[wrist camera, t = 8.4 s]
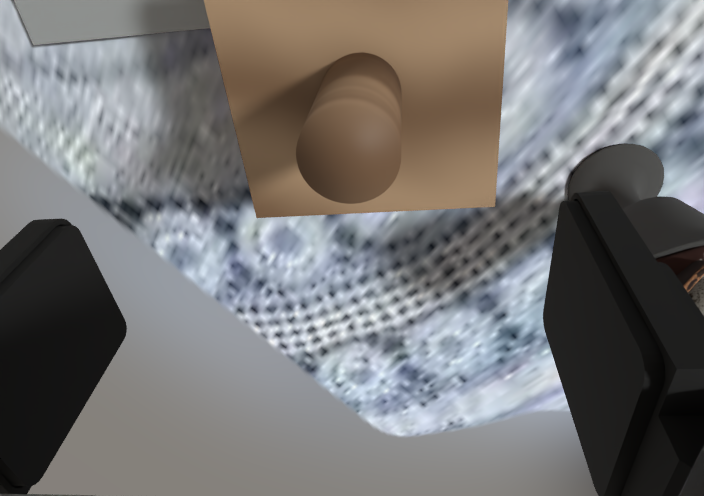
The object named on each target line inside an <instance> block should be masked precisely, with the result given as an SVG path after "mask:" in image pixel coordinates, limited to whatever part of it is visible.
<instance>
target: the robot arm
mask: <svg viewBox="0 0 704 496" xmlns="http://www.w3.org/2000/svg"><path fill="white" fill-rule="evenodd" d="M543 322H544V329H545V332H546V336H547V339H548V342H549V345H550V348H551V351H552V354H553V358H554V361H555V364H556V367H557V370H558V373H559V377H560V380H561V383H562V386H563V389H564V392H565V395H566V399H567V402H568V405H569V408H570V411H571V414H572V417H573V420H574V424H575V427H576V430H577V433H578V436H579V439H580V443H581V446H582V449H583V452H584V455H585V458H586V461H587V464H588V468H589V471H590V473H591V477H592V480H593V484H594V487H595V489H596V491H597V493H598V495H599V496H704V315H703V314H702V312H701V311H700V310H699V308H698V307H697V305H696V304H695V302H694V301H693V299H692V298H691V296H690V295H689V294H688V292H687V291H686V289H685V288H684V286H683V285H682V283H681V282H680V280H679V279H678V278H677V276H676V275H675V273H674V272H673V270H672V269H671V268H670V267H669V266H668V265H667V264H665V263H662V262H657V261H656V259H655V258H654V256H653V255H652V253H651V252H650V250H649V249H648V247H647V246H646V244H645V243H644V241H643V240H642V238H641V237H640V235H639V234H638V232H637V231H636V229H635V228H634V226H633V225H632V223H631V221H630V220H629V218H628V217H627V215H626V214H625V212H624V211H623V209H622V208H621V206H620V205H619V203H618V202H617V200H616V199H615V197H614V196H613V194H612V193H611V192H610V191H597V192H577V193H574V194H573V195H572V198H571V201H563V202H562V203H561V205H560V209H559V215H558V221H557V228H556V234H555V240H554V247H553V253H552V260H551V266H550V272H549V279H548V285H547V291H546V298H545V304H544V311H543ZM126 329H127V328H126V322H125V319H124V317H123V315H122V313H121V311H120V309H119V307H118V305H117V303H116V302H115V300H114V298H113V296H112V294H111V292H110V290H109V288H108V286H107V284H106V282H105V280H104V278H103V276H102V274H101V272H100V270H99V268H98V266H97V264H96V262H95V260H94V258H93V256H92V254H91V252H90V250H89V248H88V246H87V244H86V242H85V240H84V238H83V236H82V234H81V232H80V231H79V229H78V228H77V227H75V226H73V225H71V223H70V222H68V221H67V220H65V219H44V220H33V221H32V222H30V223H29V224H27V225H26V226H25V227H24V228H23V229H22V230H21V231H20V232H19V233H18V234H17V235H16V236H15V237H14V238H13V239H11V240H10V241H9V242H8V243H7V244H6V245H5V246H4V247H3V248H2V249H1V250H0V496H93V495H37V494H27V493H28V491H29V490H30V488H31V486H33V485H35V484H36V483H37V482H39V481H40V479H41V478H42V477H43V475H44V473H45V472H46V470H47V468H48V466H49V465H50V463H51V461H52V460H53V458H54V456H55V455H56V453H57V451H58V449H59V448H60V446H61V444H62V443H63V441H64V439H65V438H66V436H67V434H68V433H69V431H70V429H71V428H72V426H73V424H74V423H75V421H76V419H77V418H78V416H79V414H80V413H81V411H82V409H83V408H84V406H85V404H86V402H87V401H88V399H89V397H90V396H91V394H92V392H93V391H94V389H95V387H96V385H97V384H98V382H99V381H100V379H101V377H102V375H103V374H104V372H105V370H106V369H107V367H108V365H109V364H110V362H111V360H112V359H113V357H114V355H115V354H116V352H117V350H118V348H119V347H120V345H121V343H122V342H123V340H124V338H125V336H126Z"/></svg>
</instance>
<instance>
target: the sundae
mask: <svg viewBox="0 0 704 496" xmlns="http://www.w3.org/2000/svg"><path fill="white" fill-rule="evenodd" d="M663 180H664V167H663V165H662V163H661V161H660V159H659V157H658V156H657V154H655V153H654V152H652V151H651V150H650V149H648V148H646V147H644V146H641V145H635V144H619V145H613V146H610V147H606V148H604V149H602V150H600V151H598V152H596V153H594V154H593V155H591V156H589V157H588V158H587V159H586V160H585V161H584V162H583V163H582V164H581V165H580V166H579V167H578V168H577V169H576V171H575V172H574V174H573V176H572V178H571V180H570V183H569V187H568V198H569V201H571V198H572V195H573V194H574V193H577V192H597V191H610V192H611V193H612V194H613V196H614V197H615V199H616V200H617V202H618V203H619V205H620V206H621V208H622V209H623V211H624V212H625V214H626V215H627V217H628V218H629V220H630V221H631V223H632V225H633V226H634V228H635V229H636V231H637V232H638V234H639V235H640V237H641V238H642V240H643V241H644V243H645V244H646V246H647V247H648V249H649V250H650V252H651V253H652V255H653V256H654V258H655V259H656V261H657V262H662V263H665V264H667V265H668V266H669V267H670V268H671V269H672V270H673V272H674V273H675V275H676V276H677V278H678V279H679V280H680V282H681V283H682V285H683V286H684V288H685V289H686V291H687V292H688V294H689V295H690V296H691V298H692V299H693V301H694V302H695V304H696V305H697V307H698V308H699V310H700V311H701V312H702V314H703V315H704V214H702V213H701V212H699V211H698V210H696V209H694V208H692V207H691V206H689V205H687V204H685V203H684V202H682V201H680V200H678V199H676V198H673V197H657V195H658V194H659V192H660V189H661V187H662V185H663Z"/></svg>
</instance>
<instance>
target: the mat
mask: <svg viewBox="0 0 704 496" xmlns="http://www.w3.org/2000/svg"><path fill="white" fill-rule="evenodd" d="M14 2H15V4H16V6H17V9H18V11H19V13H20V16H21V18H22V20H23V23H24V25H25V27H26V29H27V32H28V34H29V36H30V39H31V41H32V43H33V45H41V44H51V43H62V42H72V41H82V40H93V39H103V38H114V37H124V36H134V35H145V34H155V33H165V32H176V31H186V30H197V29H207V28H210V24H209V20H208V16H207V12H206V8H205V3H204V0H14Z"/></svg>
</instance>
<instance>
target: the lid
mask: <svg viewBox="0 0 704 496" xmlns="http://www.w3.org/2000/svg"><path fill="white" fill-rule="evenodd" d="M204 3H205V8H206V12H207V16H208V20H209V24H210V28H211V32H212V36H213V40H214V45H215V49H216V53H217V57H218V61H219V65H220V69H221V73H222V77H223V82H224V86H225V90H226V94H227V98H228V102H229V106H230V110H231V114H232V118H233V123H234V127H235V131H236V135H237V139H238V143H239V147H240V151H241V155H242V160H243V164H244V168H245V172H246V176H247V180H248V184H249V188H250V192H251V197H252V201H253V205H254V209H255V213H256V217H257V218H265V217H286V216H308V215H329V214H350V213H371V212H392V211H414V210H435V209H456V208H477V207H495V198H496V183H497V167H498V151H499V136H500V120H501V104H502V89H503V73H504V58H505V42H506V26H507V11H508V0H204Z"/></svg>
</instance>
